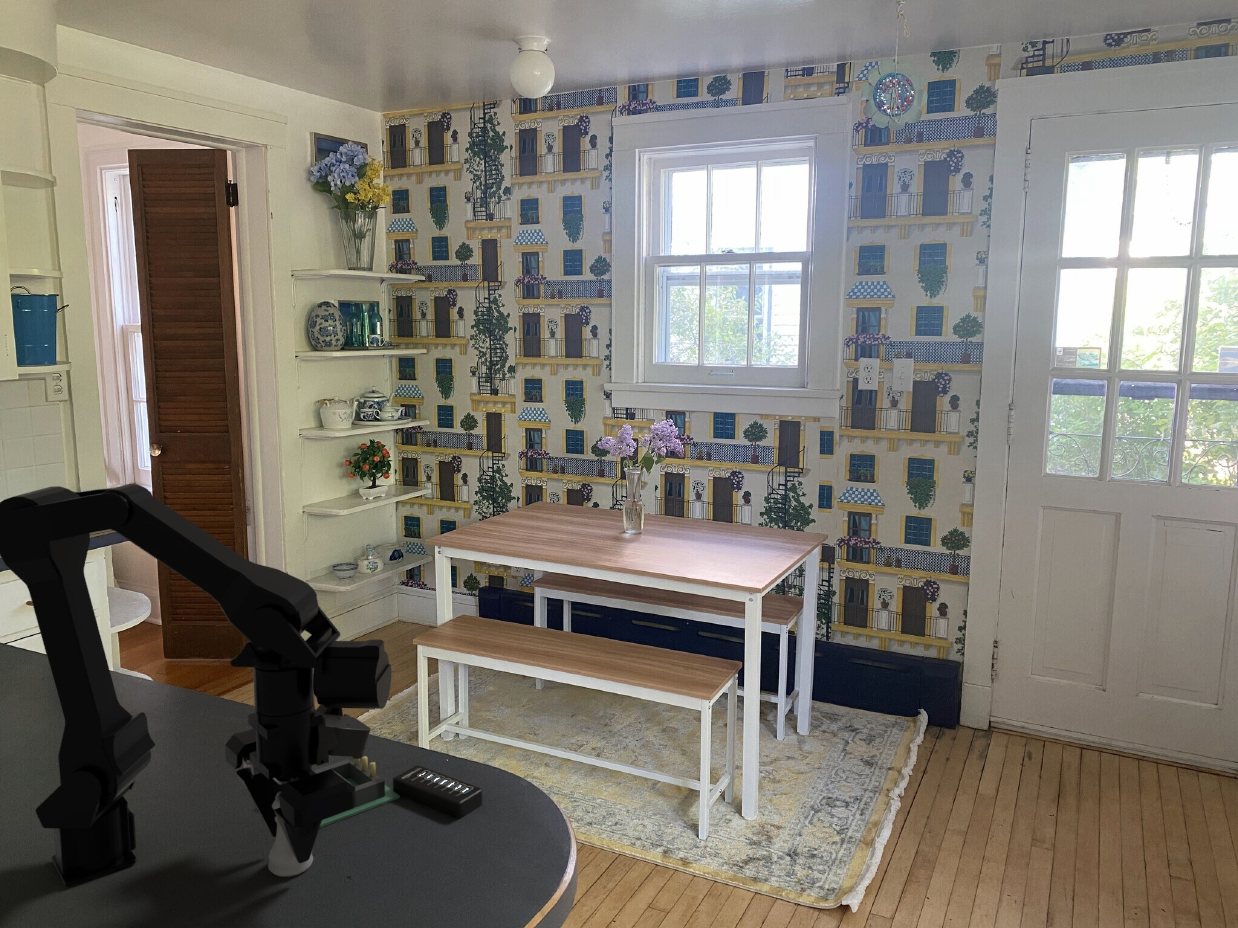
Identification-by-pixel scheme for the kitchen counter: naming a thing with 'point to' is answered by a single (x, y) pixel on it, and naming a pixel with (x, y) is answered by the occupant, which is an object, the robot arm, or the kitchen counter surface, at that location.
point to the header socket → (360, 787)
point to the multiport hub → (438, 791)
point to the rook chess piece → (284, 853)
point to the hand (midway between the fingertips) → (290, 847)
